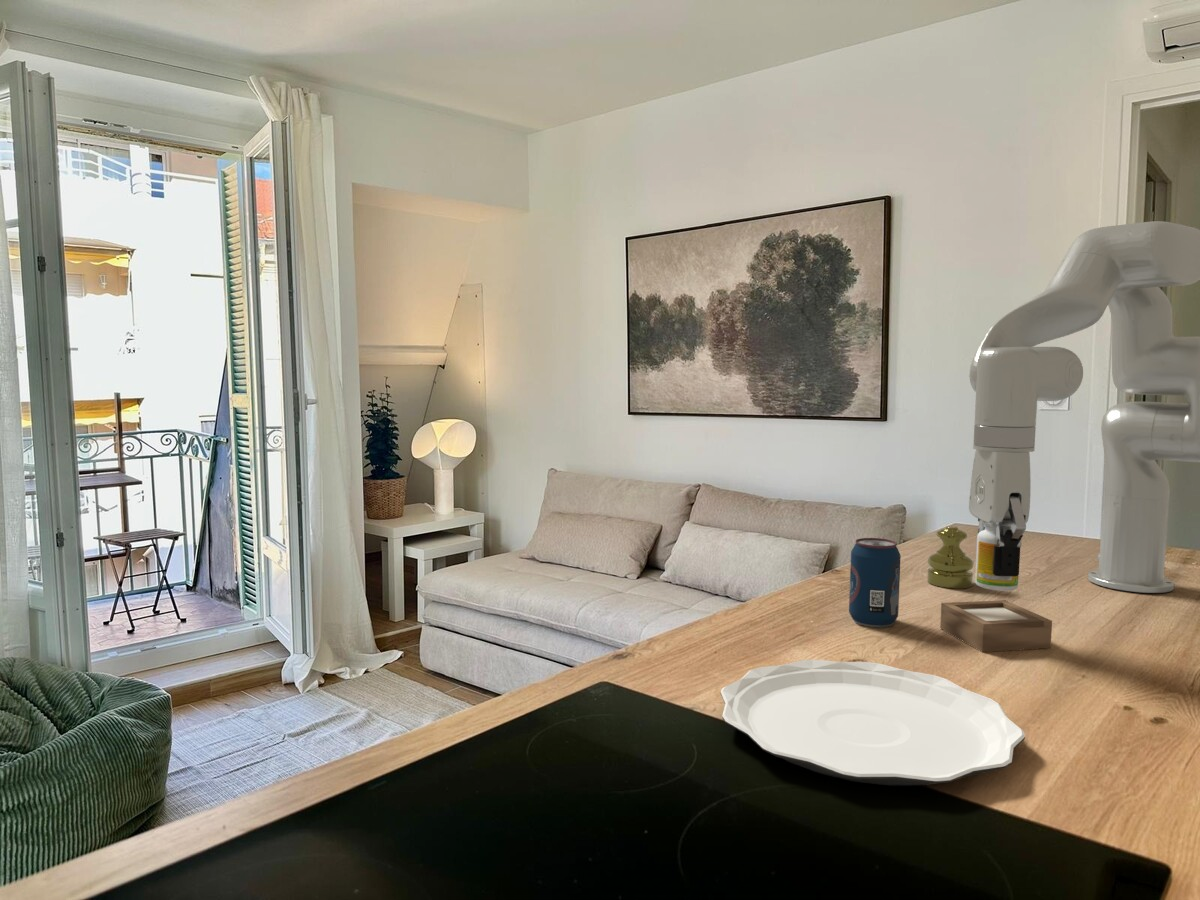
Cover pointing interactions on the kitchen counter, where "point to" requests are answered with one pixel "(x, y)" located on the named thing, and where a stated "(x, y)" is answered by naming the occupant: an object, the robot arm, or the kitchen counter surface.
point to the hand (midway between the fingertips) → (997, 568)
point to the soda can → (874, 582)
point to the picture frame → (996, 625)
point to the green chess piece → (950, 561)
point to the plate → (871, 722)
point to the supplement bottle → (990, 561)
